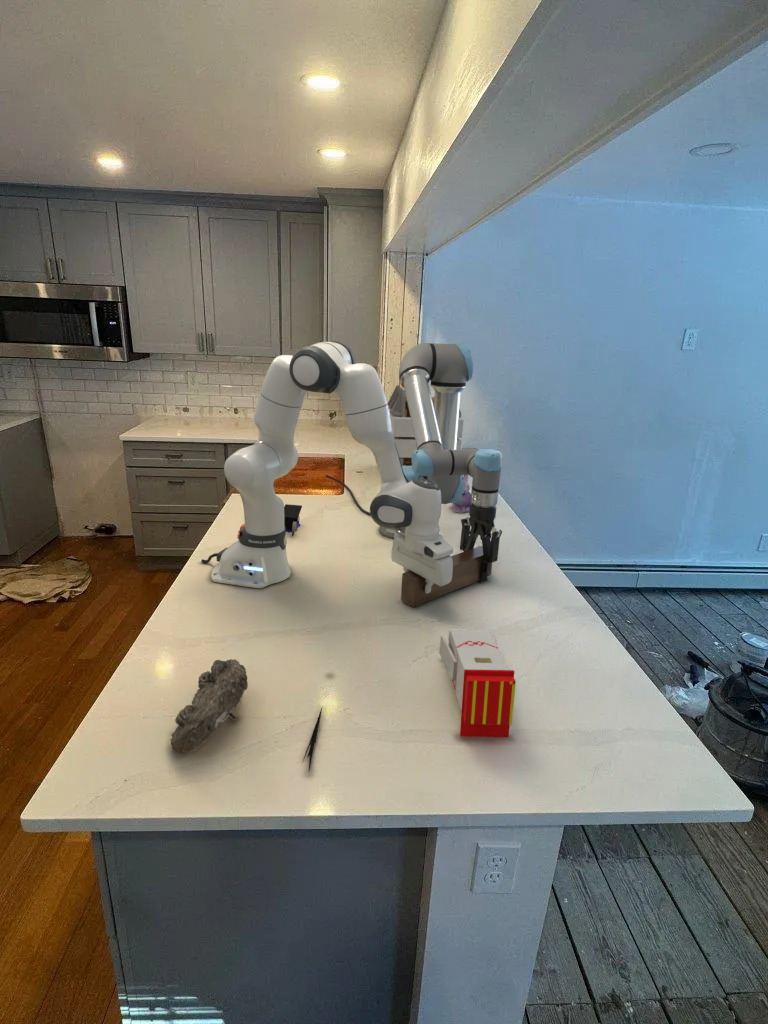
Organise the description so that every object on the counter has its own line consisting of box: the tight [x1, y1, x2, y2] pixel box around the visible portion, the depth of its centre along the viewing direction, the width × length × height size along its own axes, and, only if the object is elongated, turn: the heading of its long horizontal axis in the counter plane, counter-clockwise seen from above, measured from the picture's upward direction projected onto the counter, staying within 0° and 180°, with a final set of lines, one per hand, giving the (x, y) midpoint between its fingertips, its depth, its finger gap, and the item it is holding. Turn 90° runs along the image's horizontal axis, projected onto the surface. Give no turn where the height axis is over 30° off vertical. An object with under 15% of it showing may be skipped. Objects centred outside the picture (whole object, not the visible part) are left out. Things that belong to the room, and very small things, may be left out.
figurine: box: [451, 475, 472, 514], centre depth 225 cm, size 9×10×15 cm
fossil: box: [170, 658, 249, 753], centre depth 106 cm, size 22×10×15 cm
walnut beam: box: [400, 545, 493, 608], centre depth 160 cm, size 5×32×8 cm, turn 131°
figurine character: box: [284, 503, 303, 537], centre depth 197 cm, size 7×8×15 cm
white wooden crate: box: [387, 384, 464, 466], centre depth 268 cm, size 34×33×41 cm
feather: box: [301, 673, 332, 771], centre depth 108 cm, size 2×28×2 cm
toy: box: [438, 628, 517, 738], centre depth 117 cm, size 12×13×30 cm
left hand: (418, 587), depth 153 cm, fingers closed on walnut beam, 5 cm apart
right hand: (475, 577), depth 169 cm, fingers closed on walnut beam, 5 cm apart
